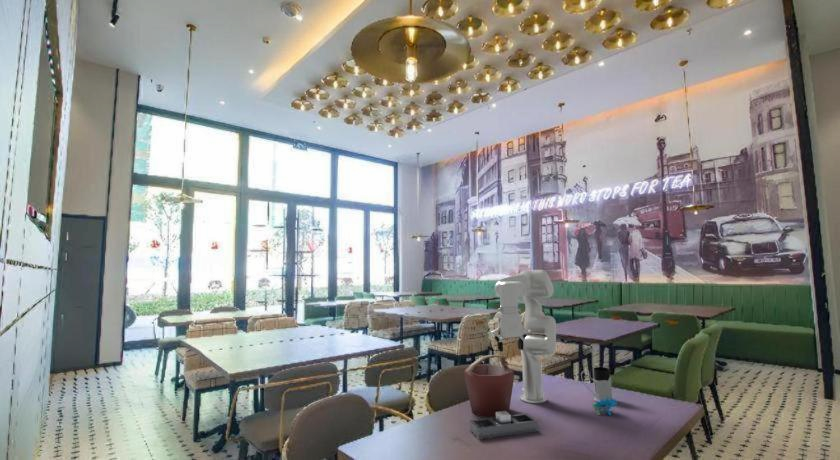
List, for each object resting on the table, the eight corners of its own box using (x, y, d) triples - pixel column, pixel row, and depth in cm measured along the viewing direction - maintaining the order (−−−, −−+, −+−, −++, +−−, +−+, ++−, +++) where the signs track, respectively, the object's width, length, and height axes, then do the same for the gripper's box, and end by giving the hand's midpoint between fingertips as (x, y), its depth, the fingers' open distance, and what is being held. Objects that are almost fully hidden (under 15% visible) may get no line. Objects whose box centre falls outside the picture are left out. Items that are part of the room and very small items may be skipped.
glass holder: (615, 403, 189) (612, 371, 191) (583, 401, 193) (581, 370, 195) (611, 397, 198) (609, 367, 199) (581, 395, 202) (579, 365, 203)
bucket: (502, 400, 197) (500, 349, 199) (527, 415, 176) (524, 358, 178) (457, 406, 189) (456, 353, 192) (477, 423, 168) (475, 363, 171)
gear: (614, 405, 181) (617, 395, 175) (619, 418, 177) (623, 408, 171) (589, 409, 182) (592, 398, 176) (595, 422, 177) (597, 411, 171)
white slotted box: (496, 429, 161) (495, 411, 162) (506, 428, 162) (505, 410, 163) (501, 434, 157) (500, 415, 158) (511, 432, 158) (510, 413, 159)
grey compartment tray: (478, 439, 152) (478, 428, 152) (469, 430, 161) (469, 420, 161) (538, 431, 159) (537, 421, 159) (526, 423, 167) (526, 413, 168)
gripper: (494, 312, 167) (496, 353, 165) (531, 310, 171) (533, 350, 170) (487, 310, 174) (488, 350, 172) (522, 308, 179) (524, 347, 177)
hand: (510, 350), depth 171 cm, fingers open, 9 cm apart
